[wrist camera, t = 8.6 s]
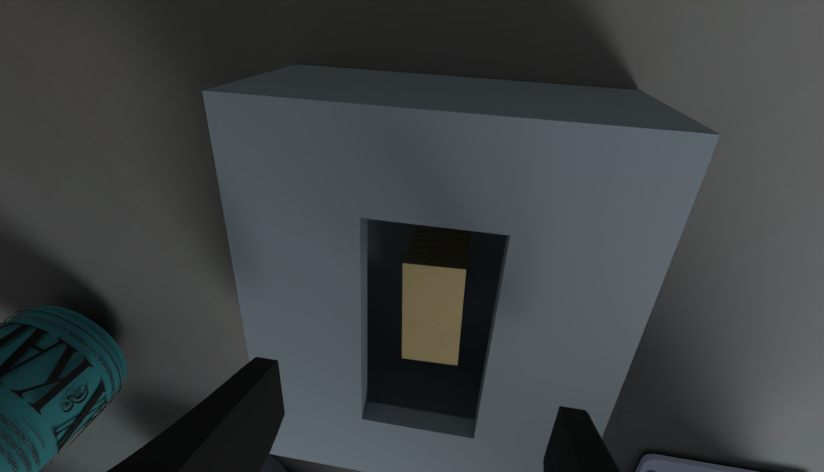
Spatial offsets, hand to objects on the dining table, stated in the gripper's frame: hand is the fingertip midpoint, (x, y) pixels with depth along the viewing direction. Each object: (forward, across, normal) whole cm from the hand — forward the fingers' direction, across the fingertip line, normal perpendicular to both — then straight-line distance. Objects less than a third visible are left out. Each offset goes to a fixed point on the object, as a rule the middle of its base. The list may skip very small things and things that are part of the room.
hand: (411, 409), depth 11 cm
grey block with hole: (+8, 0, 0) cm, 8 cm away
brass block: (+8, 0, 0) cm, 8 cm away
